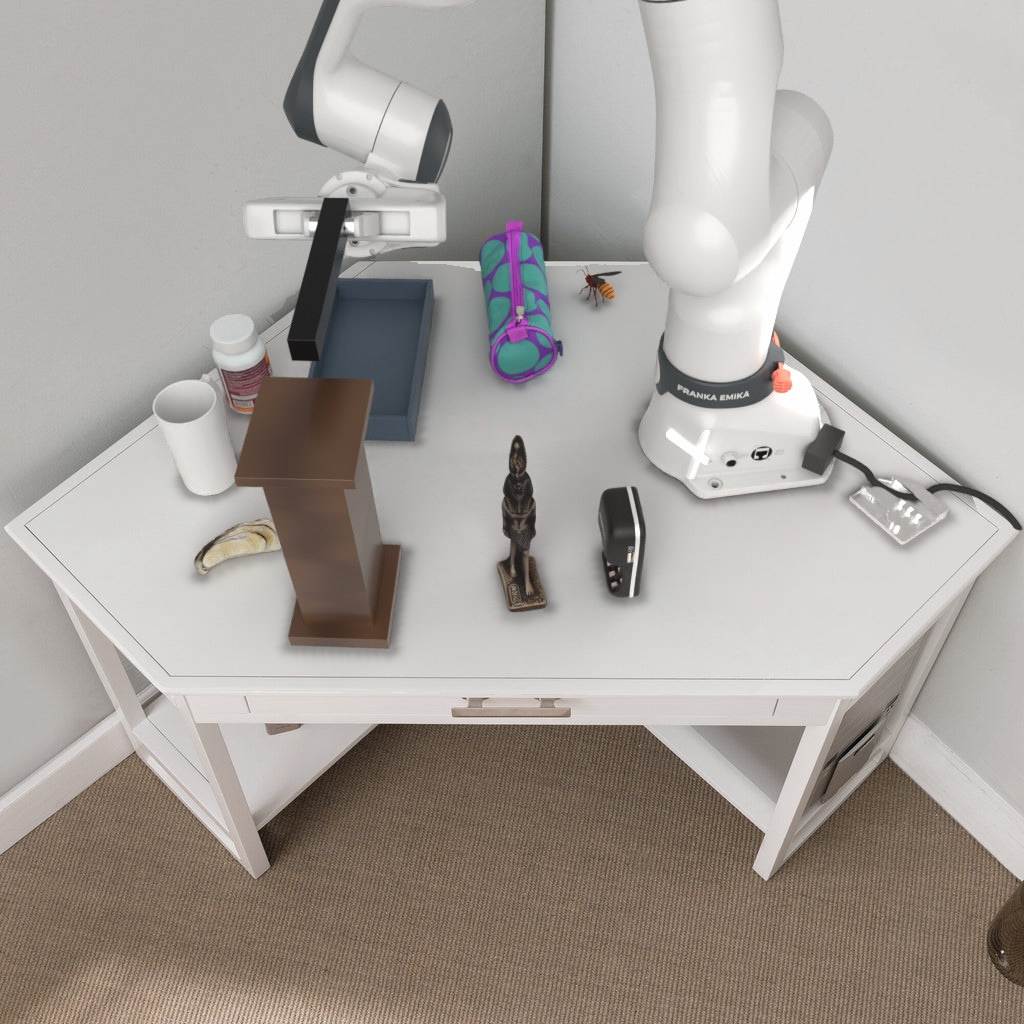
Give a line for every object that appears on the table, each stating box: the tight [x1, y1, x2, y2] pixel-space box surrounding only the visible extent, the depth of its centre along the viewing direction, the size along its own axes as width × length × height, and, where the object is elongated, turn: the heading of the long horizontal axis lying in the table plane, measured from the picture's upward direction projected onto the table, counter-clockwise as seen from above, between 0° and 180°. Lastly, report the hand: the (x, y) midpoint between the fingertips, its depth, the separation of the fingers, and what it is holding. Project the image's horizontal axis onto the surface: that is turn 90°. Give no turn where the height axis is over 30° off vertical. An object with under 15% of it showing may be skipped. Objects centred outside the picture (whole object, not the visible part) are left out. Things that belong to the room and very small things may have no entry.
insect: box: [575, 266, 623, 307], centre depth 139 cm, size 4×6×5 cm, turn 40°
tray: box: [307, 277, 436, 442], centre depth 132 cm, size 13×25×4 cm, turn 177°
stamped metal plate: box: [848, 475, 950, 546], centre depth 117 cm, size 8×7×2 cm
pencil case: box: [478, 220, 564, 384], centre depth 134 cm, size 21×9×10 cm, turn 5°
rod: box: [286, 198, 352, 362], centre depth 96 cm, size 2×20×2 cm, turn 178°
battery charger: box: [597, 485, 647, 598], centre depth 108 cm, size 7×4×11 cm, turn 6°
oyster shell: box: [193, 517, 282, 576], centre depth 115 cm, size 6×4×10 cm
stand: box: [234, 376, 403, 649], centre depth 102 cm, size 10×12×26 cm
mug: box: [152, 373, 238, 497], centre depth 119 cm, size 10×7×12 cm, turn 168°
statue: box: [496, 434, 548, 613], centre depth 104 cm, size 4×7×20 cm, turn 13°
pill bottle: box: [209, 313, 275, 415], centre depth 126 cm, size 6×6×11 cm
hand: (331, 228), depth 100 cm, fingers closed on rod, 2 cm apart
